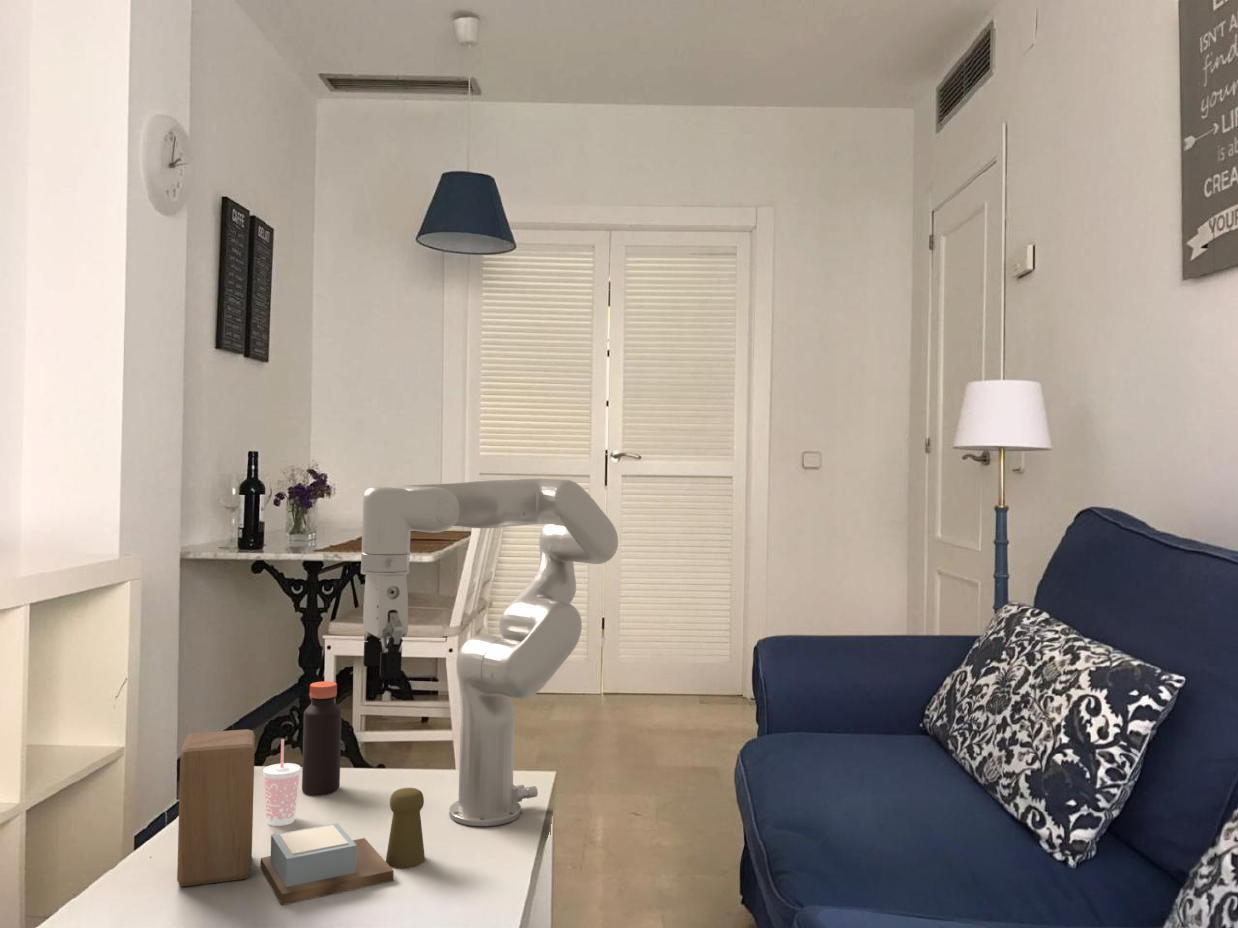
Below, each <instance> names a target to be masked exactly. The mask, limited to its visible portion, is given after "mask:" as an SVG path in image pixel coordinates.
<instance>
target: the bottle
mask: <svg viewBox="0 0 1238 928" xmlns="http://www.w3.org/2000/svg"><path fill="white" fill-rule="evenodd" d="M337 694H338V683H337V682H334V681H326V680H325V681H317V682H316V681H315V682H312V683H310V685H309V700H310V704H309V705H308V707H306V708H305V710H303V711H304V712H303V726H302V727H303V730H302V731H303V732H302V733H303V734H302V765H301V766H302V767H301V769H302V770H301V771H302V774H301V791H302V792H303V794H305V795H308V796H314V797H315V796H318V797H319V796H326V795H331V794H335V793H336V792H337V791H338V790H339V789H340V783H341V782H340V779H341V747H342V746H341V744H342V741H341V740H342V709H341V707H340V706H339V705H338V704H337V703H336V700H335V699H337Z"/></svg>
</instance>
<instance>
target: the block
mask: <svg viewBox="0 0 1238 928" xmlns="http://www.w3.org/2000/svg"><path fill="white" fill-rule="evenodd" d="M183 741H184V742H183V746H182V748H181V753H180V758H179V759H180V761H179V797H178V798H179V799H178V800H179V801H178V802H179V803H178V827H177V828H178V831H177V832H178V836H177V868H176V869H177V871H176V873H177V875H176V876H177V877H176V881H177V883H178V885H179V886H181V887H188V886H189V887H190V886H197V885H198V886H199V885H205V884H206V885H207V884H215V883H221V882H230V881H231V882H232V881H237V880H239V881H240V880H245V879H247V878H249V877H250V875H251V873H252V865H253V864H252V861H253V860H252V857H253V827H254V826H253V821H254V820H253V819H254V784H255V783H254V782H255V751H256V750H255V746H256V745H255V743H256V735H255V732H254V730H251V729H248V728H247V729H236V730H235V729H233V730H220V731H206V732H205V731H204V732H191V733H189V734H187V735H186V737H185V739H184V740H183Z"/></svg>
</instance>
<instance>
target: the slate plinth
mask: <svg viewBox="0 0 1238 928" xmlns="http://www.w3.org/2000/svg"><path fill="white" fill-rule="evenodd" d="M353 840H354V839H352V838H351V837H350V835H349V834H348V833H347V832H346V831H345V830H344V828H343V827H342V826H341V825H340V824H339V823H338V822H335V823H329V824H324V825H318V826H313V827H307V828H302V829H297V830H292V831H291V830H290V831H284V832H280V833H275V834H271V835H270V856H271V860H270V861H271V863H272V865H273V866H274V868H275V870H276V871H277V873H278V875H279V876H280V878H281V880H282V881H283V883H284V884H285V886H286V887H289V886H294V885H299V884H304V883H308V882H313V881H318V880H323V879H327V878H332V877H337V876H342V875H346V874H351V873H356V859H357V845H356V844H355V843H354V841H353Z"/></svg>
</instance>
